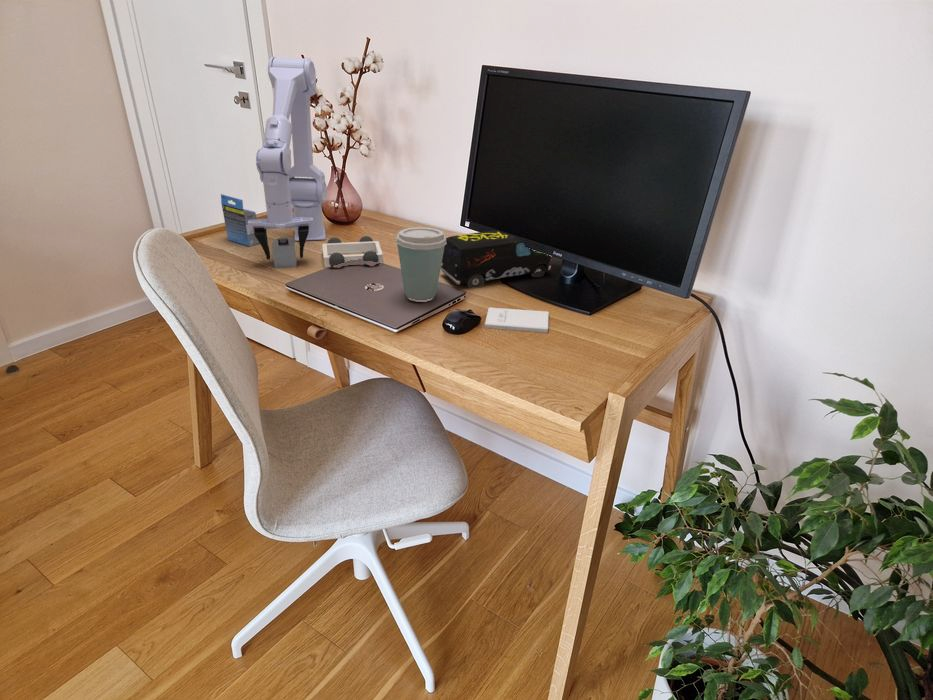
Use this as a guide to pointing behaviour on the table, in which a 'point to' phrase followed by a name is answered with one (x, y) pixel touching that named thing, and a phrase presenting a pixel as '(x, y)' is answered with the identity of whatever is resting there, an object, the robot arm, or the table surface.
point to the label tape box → (238, 221)
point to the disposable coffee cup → (420, 260)
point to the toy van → (489, 258)
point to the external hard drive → (517, 320)
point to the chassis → (351, 251)
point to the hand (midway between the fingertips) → (285, 257)
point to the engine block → (284, 252)
